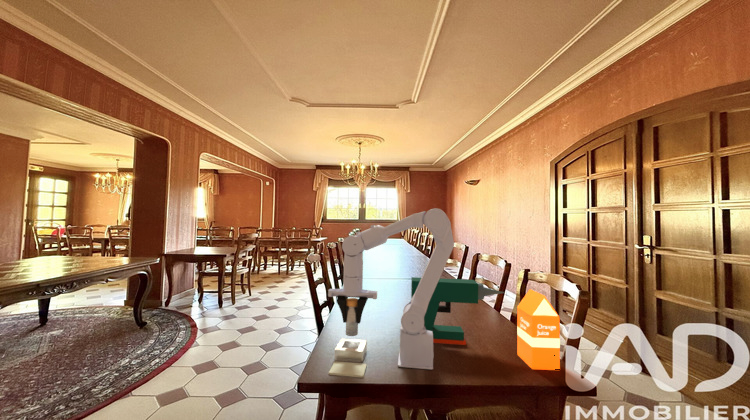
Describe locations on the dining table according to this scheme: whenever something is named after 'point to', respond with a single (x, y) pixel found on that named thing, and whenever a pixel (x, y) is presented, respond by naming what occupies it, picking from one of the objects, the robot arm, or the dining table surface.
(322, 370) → the dining table surface
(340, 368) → the key mat
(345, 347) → the block
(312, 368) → the dining table surface
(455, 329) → the power tool
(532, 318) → the orange juice
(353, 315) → the orange capped bottle
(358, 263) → the robot arm
